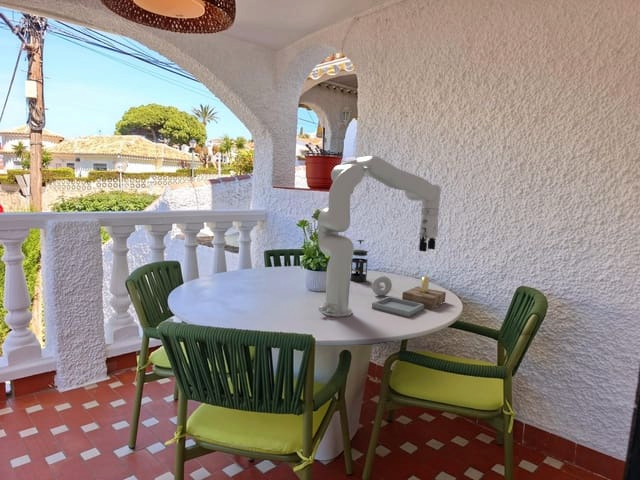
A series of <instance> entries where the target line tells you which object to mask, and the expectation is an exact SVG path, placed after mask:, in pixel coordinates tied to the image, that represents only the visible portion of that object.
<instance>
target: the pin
mask: <svg viewBox="0 0 640 480" xmlns="http://www.w3.org/2000/svg"><path fill="white" fill-rule="evenodd" d="M429 284H430V277H429V276H422V277H421V286H420V287H421V293H425V294H428V289H429Z"/></svg>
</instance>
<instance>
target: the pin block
mask: <svg viewBox="0 0 640 480" xmlns="http://www.w3.org/2000/svg"><path fill="white" fill-rule="evenodd" d="M421 287H422V286H414V288H413V287H412V288H410V289H407V290H405V291H403V292H402V296H401V297H402V298H401V299H403V300H407V301H412V302H416V303H421V304H424V309H425V308H428V309H427V310H430V309H432V310H434V309H435V308H434V307H436V306H438V305H440V304H441V303H443V302H445V303H446V295H447V293H446V292H447V291H442V290H437V289H433V288H432V289H431V288H428V294H425V293H421ZM443 304H444V303H443ZM441 305H442V304H441ZM441 305H440V306H441ZM438 307H439V306H438ZM433 308H434V309H433ZM436 308H437V307H436Z"/></svg>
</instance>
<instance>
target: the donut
mask: <svg viewBox="0 0 640 480" xmlns="http://www.w3.org/2000/svg"><path fill="white" fill-rule="evenodd" d="M381 283H383V284H384V287H382V288H380V286H379V285H380V284H381ZM392 287H393V284H392V281H391V279H390V278H389V276H386V275H379V276H376V277H375V278H374V279H373V281H372V282H371V290H372V292H373V293H374V294H375V295H376V296H379V297H382V296H383V297H384V296H386V295H388V294H389V293H390V292H391V291H392Z"/></svg>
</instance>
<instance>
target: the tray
mask: <svg viewBox="0 0 640 480" xmlns="http://www.w3.org/2000/svg"><path fill="white" fill-rule="evenodd" d="M371 309H372V310H376V311H380V312H385V313H388V314H392V315H396V316H400V317H404V318H408V319H409V318H410V317H412V316H413V317H414V316H415V315H417V314H419V313H420V312H422V311H424V310H425V308H424V304H421V303H416V302H412V301H407V300H403V299H402V298H398V297H393V296H387V297H384V298H381V299H379V300H378V299H377V300H376V301H373V302H372V303H371Z"/></svg>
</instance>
